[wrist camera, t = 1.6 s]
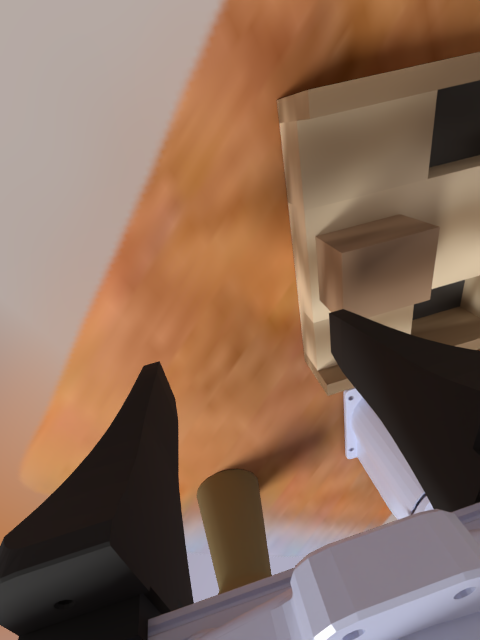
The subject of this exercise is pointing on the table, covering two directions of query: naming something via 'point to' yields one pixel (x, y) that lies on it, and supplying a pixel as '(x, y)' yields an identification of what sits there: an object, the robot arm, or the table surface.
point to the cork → (234, 528)
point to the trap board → (388, 190)
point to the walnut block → (377, 265)
